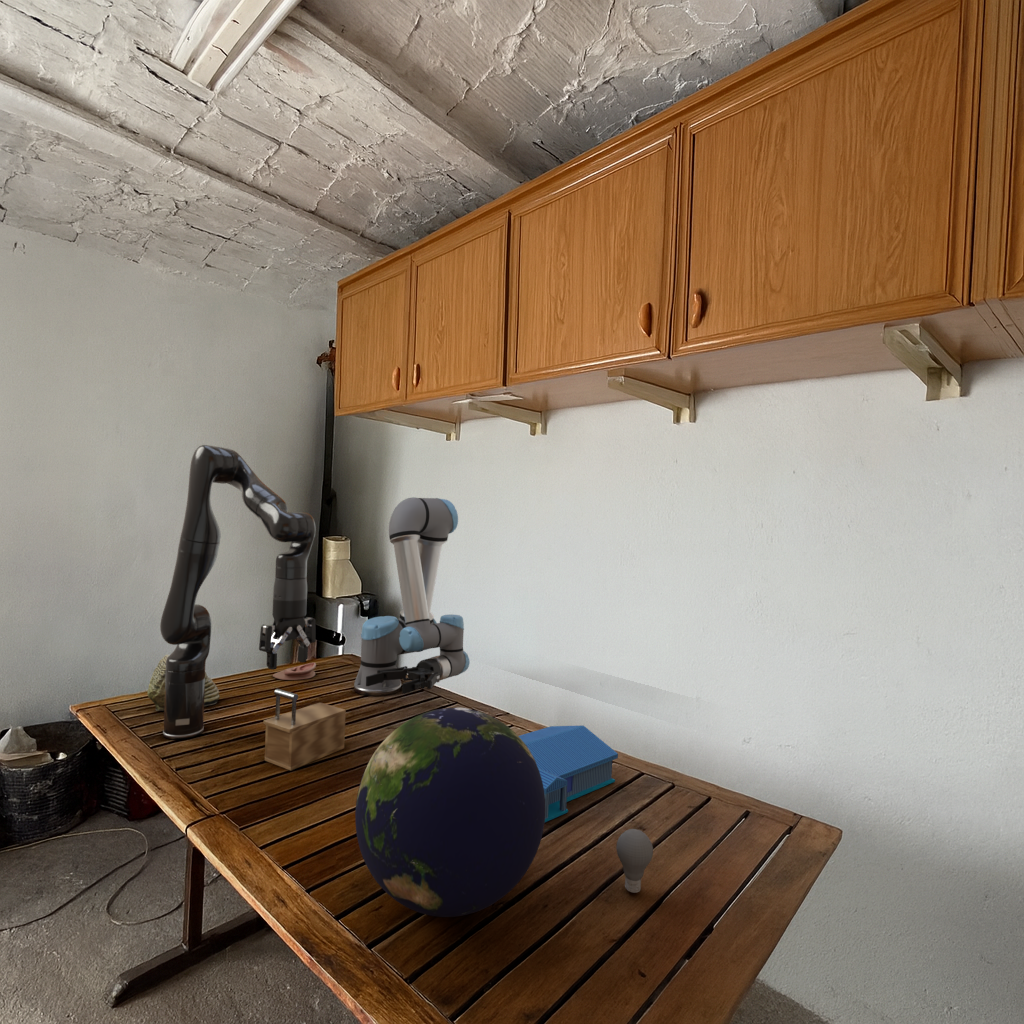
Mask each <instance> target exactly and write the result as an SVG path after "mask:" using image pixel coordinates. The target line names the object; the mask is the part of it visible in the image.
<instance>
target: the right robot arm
mask: <svg viewBox="0 0 1024 1024" xmlns="http://www.w3.org/2000/svg"><path fill="white" fill-rule="evenodd" d="M458 514H459V513H458V510H457V509H456V506H455V505H454V503H453V502H451V501H450V500H448V499H444V498H440V497H439V498H438V497H414V496H413V497H408V498H404V499H403V500H402V501H400V502H398V504H397V505H396V506H395V507H394V508H393V510H392V513H391V516H390V519H389V523H388V537H389V543H391V544H392V545H393V548H394V557H395V564H396V569H397V575H398V583H399V589H400V594H401V595H400V597H401V603H402V609H401V610H400V612H399V617H398V618H397V617H396V616H393V615H385V616H382V615H381V616H375V617H371V618H369V619H367V620H365V621H364V622H363V624H362V626H361V627H362V628H361V633H360V638H361V642H360V643H361V644H360V645H361V646H360V666H359V669H358V672H357V674H356V678H355V680H354V683H353V691H354V692H355V693H357V694H359V695H363V696H371V697H384V696H390V695H393V694H396V693H399V692H400V691H401V693H402V694H403V695H405V694H409V693H412V692H414V691H417V690H420V689H423V690H424V689H425V688H426V689H427V690H431V689H432V688H433V687H434V686H435V685H436V684H437V683H440V682H441V681H443V680H446V679H449V678H452V677H456V676H459V675H461V674H463V673H465V672H466V671H467V670H468V669H469V667H470V661H471V660H470V658H469V655H468V653H467V652H466V651H465V650H464V631H465V626H464V624H465V623H464V618H463V616H462V615H460V614H443V615H441V616H440V619H439V622H437V620H436V619H435V615H434V614H433V612H432V605H433V598H434V593H435V587H436V582H437V577H438V570H439V564H440V559H441V552H442V547H443V545H444V544H446V543H447V542H448V539H449V535H451V534H452V533H454V532H455V531H456V529H457V527H458V526H459V525H458V524H459V515H458ZM438 648H439V655H435V656H431V657H429V658H424V659H422V660H420V661H419V662H418V663H417V664H416V666H412V667H408V666H406V665H405V666H401V667H397V662H398V661H397V660H398V656H400V655H406V654H411V653H412V654H413V653H421V652H423V651H428V650H430V649H438ZM401 680H403V681H405V682H404V683H402V681H401Z"/></svg>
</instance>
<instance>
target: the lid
mask: <svg viewBox="0 0 1024 1024" xmlns="http://www.w3.org/2000/svg"><path fill="white" fill-rule="evenodd" d="M274 696H275V715H274V717H270V718H268V719H264V720H263V721H262V722H263V723H262V724H263V725H265V726H266V725H268V726H271V727H274V728H277V729H279V730H282V731H285V732H288V733H291V732H294V731H296V730H299V729H302V728H305V727H308V726H311V725H313V724H316V723H319V722H322V721H325V720H327V719H330V718H333V717H336V716H339V715H341V714H344V713H347V709H344V708H341V707H338V706H334V705H330V704H327V703H323V702H317V703H314V704H310V705H307V706H305V707H302V708H298V709H297V700H299V695H298V693H294V692H290V691H287V690H284V689H282V688H281V689H280V688H276V689H275V690H274ZM281 698H284V699H286V700H287V699H288V700H290V701H291V711H289V712H286V713H283V714H281Z"/></svg>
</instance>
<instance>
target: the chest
mask: <svg viewBox="0 0 1024 1024" xmlns="http://www.w3.org/2000/svg"><path fill="white" fill-rule="evenodd" d="M346 713H347V712H346ZM346 713H344V714H341V715H339V716H336V717H333V718H330V719H327V720H325V721H322V722H319V723H316V724H313V725H311V726H308V727H305V728H302V729H299V730H296V731H294V732H291V733H288V732H285V731H282V730H279V729H277V728H274V727H271V726H268V725H265V739H264V761H265V762H268V763H270V764H273V765H275V766H277V767H281V768H283V769H286V770H287V771H294V770H295V769H298V768H301V767H303V766H305V765H308V764H310V763H312V762H314V761H317V760H320V759H322V758H324V757H326V756H329V755H332V754H334V753H336V752H339V751H341V750H343V749H345V739H346Z"/></svg>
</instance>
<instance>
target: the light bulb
mask: <svg viewBox="0 0 1024 1024" xmlns="http://www.w3.org/2000/svg"><path fill="white" fill-rule="evenodd" d="M615 849H616V854H617V857H618V859H619V861H620V863H621V865H622V867H623V873H624V874H623V875H624V876H625V878H624V888H625V890H627V891H628V892H630V893H634V894H635V893H639V892H640V891H641V889H642V887H641V886H642V879H643V877H644V875H645V871H646V868H647V867H648V866H649V864H650V863H651V861H652V859H653V855H654V847H653V843H652V841H651V838H649V836H648V835H647V834H646V833H645V832H643V831H642V830H641V829H636V828H629V829H627V830H625V831H623V832H622V833H621V834H620V835H619V837H618V839H617V841H616V847H615Z"/></svg>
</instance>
